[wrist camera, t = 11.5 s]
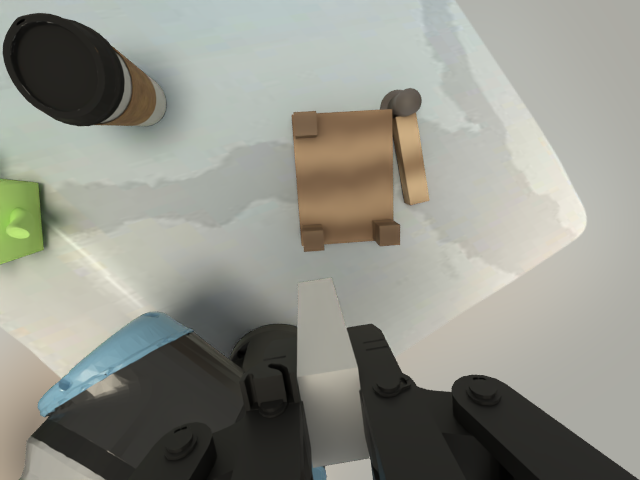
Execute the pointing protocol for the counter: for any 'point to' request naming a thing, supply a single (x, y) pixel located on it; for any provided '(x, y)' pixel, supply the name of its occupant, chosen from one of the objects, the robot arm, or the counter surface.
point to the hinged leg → (409, 145)
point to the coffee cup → (78, 74)
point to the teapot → (19, 220)
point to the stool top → (345, 176)
